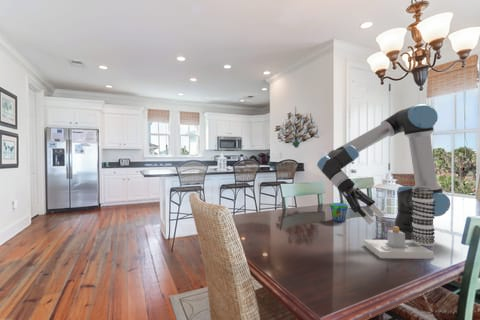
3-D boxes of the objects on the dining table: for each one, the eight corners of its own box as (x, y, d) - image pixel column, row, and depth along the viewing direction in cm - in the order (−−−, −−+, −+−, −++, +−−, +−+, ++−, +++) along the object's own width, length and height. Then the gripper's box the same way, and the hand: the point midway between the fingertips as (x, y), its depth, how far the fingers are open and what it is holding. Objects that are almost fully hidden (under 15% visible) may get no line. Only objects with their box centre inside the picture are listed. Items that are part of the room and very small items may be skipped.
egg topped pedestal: (398, 248, 103) (398, 225, 103) (405, 253, 98) (405, 228, 98) (387, 248, 103) (387, 225, 103) (393, 253, 99) (393, 228, 99)
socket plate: (410, 245, 107) (410, 238, 107) (433, 258, 93) (433, 250, 93) (364, 245, 108) (363, 238, 108) (380, 258, 94) (380, 250, 94)
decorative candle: (439, 247, 105) (439, 189, 105) (414, 244, 108) (413, 189, 108) (431, 240, 113) (430, 187, 113) (407, 238, 117) (407, 186, 116)
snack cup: (336, 216, 160) (336, 201, 160) (352, 219, 153) (352, 203, 153) (325, 221, 149) (324, 205, 149) (342, 224, 142) (342, 207, 142)
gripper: (348, 185, 127) (380, 219, 116) (324, 190, 110) (359, 230, 99) (358, 176, 123) (392, 209, 112) (336, 179, 106) (373, 219, 95)
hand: (377, 219), depth 106 cm, fingers open, 13 cm apart
